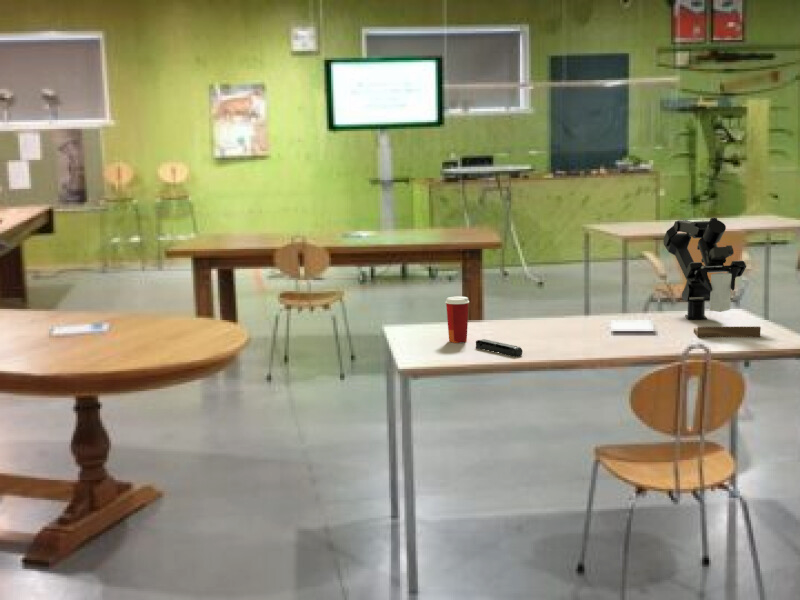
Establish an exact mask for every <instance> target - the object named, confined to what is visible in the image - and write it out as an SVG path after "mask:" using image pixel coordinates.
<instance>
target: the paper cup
mask: <svg viewBox="0 0 800 600" xmlns="http://www.w3.org/2000/svg"><path fill="white" fill-rule="evenodd" d="M444 303H445V305H446V318H447V319H446V320H447V333H448V340H449V341H450V342H449V341H448V342H449V343H451V342H453V344H460V342H464V343H467V340H468V324H469V303H470V300H469V297H467V296H457V295H455V296H449V297H446V299H445V301H444Z"/></svg>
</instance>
